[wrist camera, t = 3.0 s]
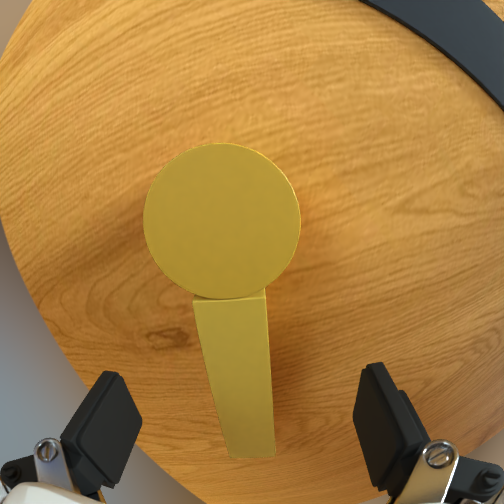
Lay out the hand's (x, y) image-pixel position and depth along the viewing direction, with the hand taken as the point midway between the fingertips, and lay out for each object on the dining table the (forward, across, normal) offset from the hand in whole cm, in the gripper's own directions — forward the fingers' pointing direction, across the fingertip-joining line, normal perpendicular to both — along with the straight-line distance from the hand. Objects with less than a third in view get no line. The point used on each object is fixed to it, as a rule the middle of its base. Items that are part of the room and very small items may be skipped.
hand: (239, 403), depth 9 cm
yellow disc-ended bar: (+6, 0, 0) cm, 6 cm away
